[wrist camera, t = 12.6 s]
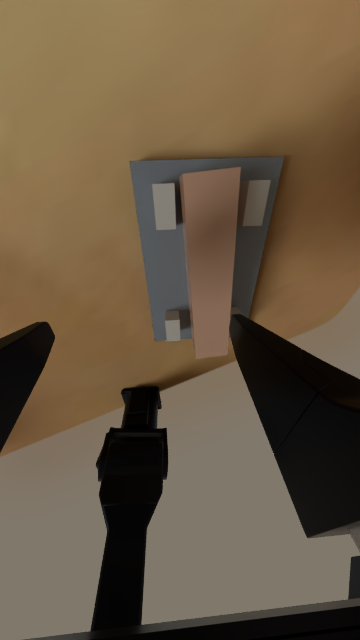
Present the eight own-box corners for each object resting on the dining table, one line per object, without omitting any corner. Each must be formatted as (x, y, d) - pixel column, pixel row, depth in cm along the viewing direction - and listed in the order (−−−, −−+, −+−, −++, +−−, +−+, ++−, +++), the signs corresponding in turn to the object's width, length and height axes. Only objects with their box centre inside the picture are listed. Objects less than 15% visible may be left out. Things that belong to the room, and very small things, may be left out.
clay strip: (217, 329, 24) (227, 355, 20) (191, 333, 24) (195, 358, 20) (221, 173, 15) (240, 166, 11) (178, 178, 15) (182, 173, 11)
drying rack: (240, 328, 26) (250, 345, 23) (155, 333, 25) (154, 351, 22) (274, 159, 15) (299, 151, 13) (132, 163, 15) (124, 156, 12)
